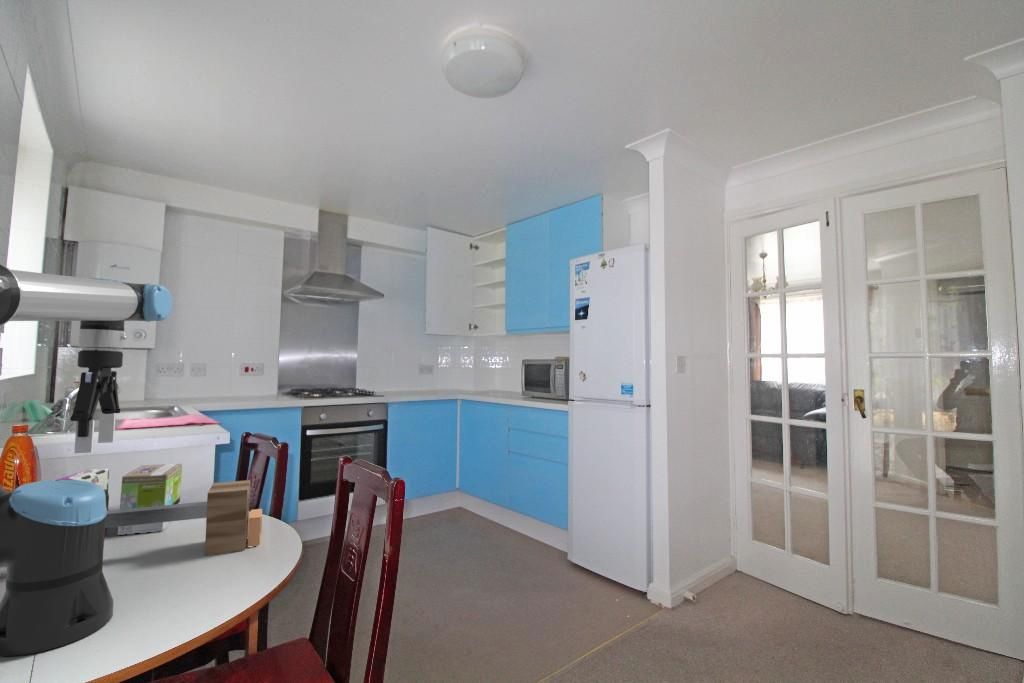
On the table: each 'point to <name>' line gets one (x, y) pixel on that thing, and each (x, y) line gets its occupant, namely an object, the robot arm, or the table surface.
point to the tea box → (150, 492)
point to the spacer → (255, 527)
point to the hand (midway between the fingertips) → (95, 447)
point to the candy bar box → (92, 478)
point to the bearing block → (227, 517)
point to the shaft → (154, 514)
